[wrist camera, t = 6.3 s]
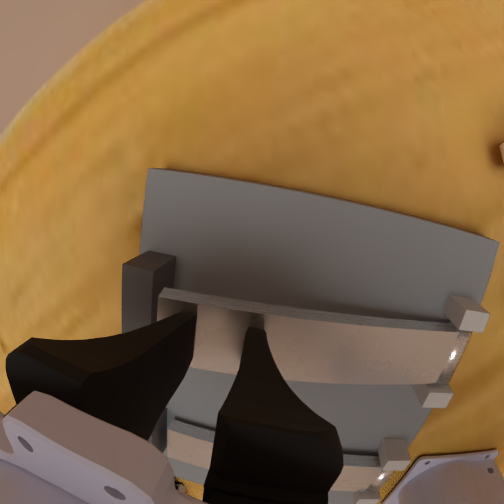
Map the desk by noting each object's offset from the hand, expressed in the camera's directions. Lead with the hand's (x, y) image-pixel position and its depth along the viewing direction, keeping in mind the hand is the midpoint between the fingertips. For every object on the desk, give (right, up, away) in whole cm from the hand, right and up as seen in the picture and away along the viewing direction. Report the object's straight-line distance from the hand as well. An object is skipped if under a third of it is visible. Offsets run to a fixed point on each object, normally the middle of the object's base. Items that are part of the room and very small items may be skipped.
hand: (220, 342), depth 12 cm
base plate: (+4, -4, +6) cm, 8 cm away
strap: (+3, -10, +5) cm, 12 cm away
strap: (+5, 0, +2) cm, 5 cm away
